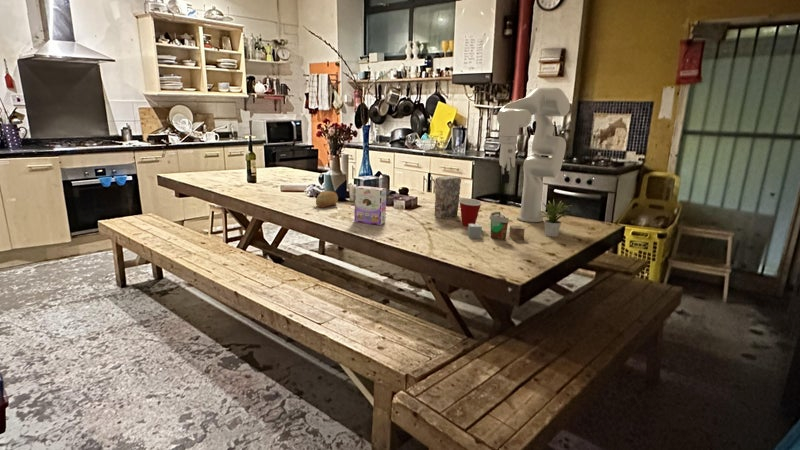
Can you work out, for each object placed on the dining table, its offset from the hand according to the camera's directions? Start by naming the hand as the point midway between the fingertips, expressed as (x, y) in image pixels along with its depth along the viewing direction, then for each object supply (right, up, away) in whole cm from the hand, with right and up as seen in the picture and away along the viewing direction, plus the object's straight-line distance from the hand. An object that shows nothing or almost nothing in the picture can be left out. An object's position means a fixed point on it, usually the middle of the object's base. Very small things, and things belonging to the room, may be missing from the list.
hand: (504, 183), depth 198 cm
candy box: (-59, -17, +15) cm, 63 cm away
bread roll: (-84, -8, +47) cm, 96 cm away
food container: (-5, -24, -2) cm, 24 cm away
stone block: (-22, -14, +33) cm, 42 cm away
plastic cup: (-13, -19, +15) cm, 28 cm away
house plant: (+22, -23, +4) cm, 32 cm away
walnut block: (+4, -24, -2) cm, 24 cm away
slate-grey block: (-14, -23, -2) cm, 27 cm away
